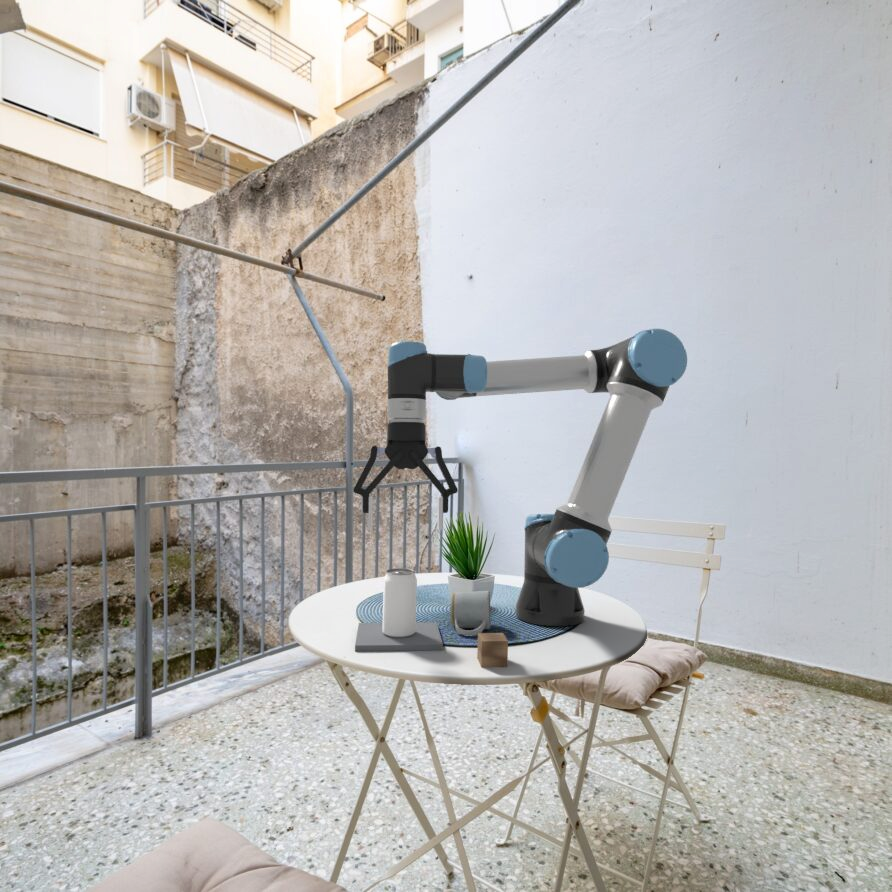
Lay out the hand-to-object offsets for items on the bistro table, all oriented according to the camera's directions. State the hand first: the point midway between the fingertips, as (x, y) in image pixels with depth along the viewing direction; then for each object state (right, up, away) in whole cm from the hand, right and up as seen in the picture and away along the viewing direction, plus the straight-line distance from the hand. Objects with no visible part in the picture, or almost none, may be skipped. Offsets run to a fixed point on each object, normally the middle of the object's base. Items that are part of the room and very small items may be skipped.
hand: (405, 530), depth 115 cm
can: (-1, -20, -1) cm, 20 cm away
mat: (-1, -21, -1) cm, 21 cm away
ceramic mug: (+13, -22, +6) cm, 26 cm away
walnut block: (+16, -21, -13) cm, 30 cm away
